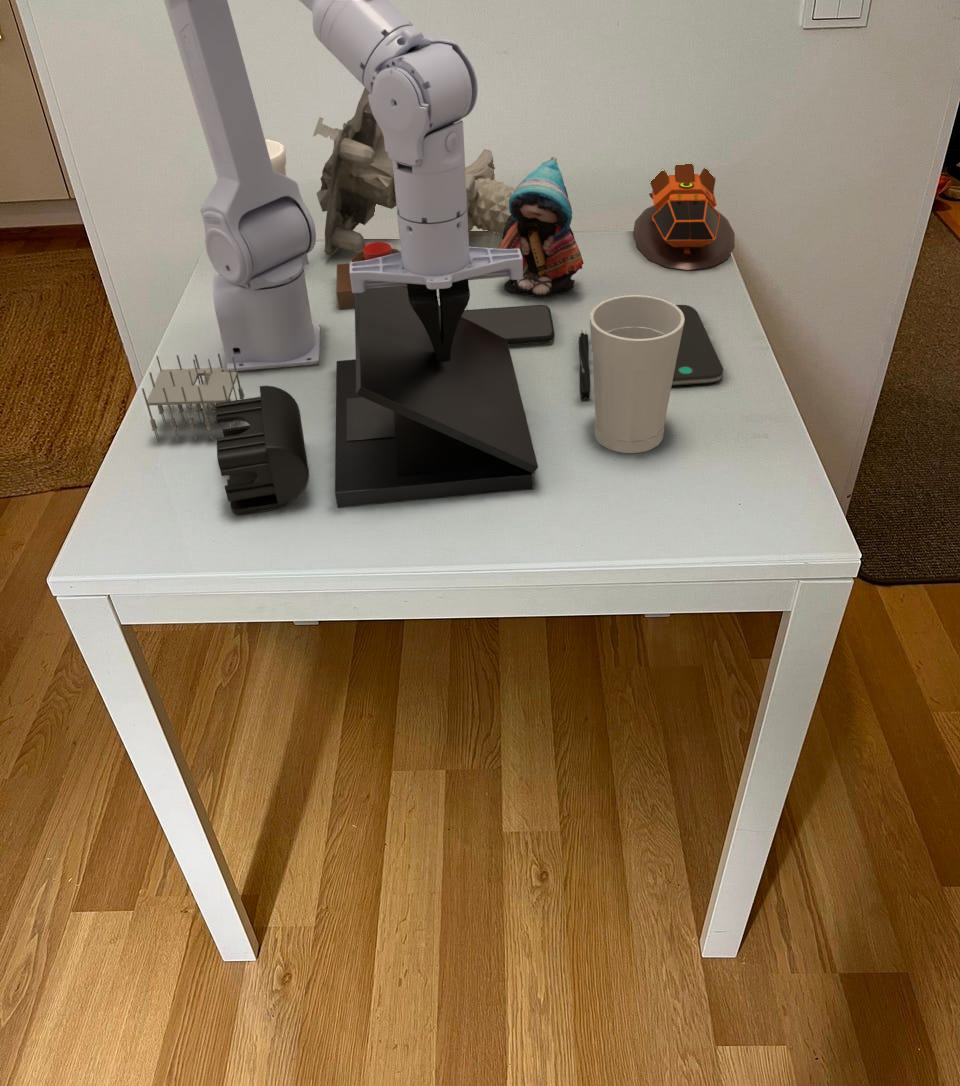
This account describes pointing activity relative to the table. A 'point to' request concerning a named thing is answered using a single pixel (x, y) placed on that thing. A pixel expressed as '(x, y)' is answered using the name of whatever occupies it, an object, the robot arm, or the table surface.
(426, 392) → the laptop screen
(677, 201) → the toy spacecraft
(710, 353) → the smartphone
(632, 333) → the cup
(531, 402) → the table surface
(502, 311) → the smartphone
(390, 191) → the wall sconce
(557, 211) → the figurine
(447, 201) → the robot arm
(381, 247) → the button
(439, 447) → the laptop
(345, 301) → the switch block
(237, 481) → the end cap
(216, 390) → the building frame
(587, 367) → the black pen
